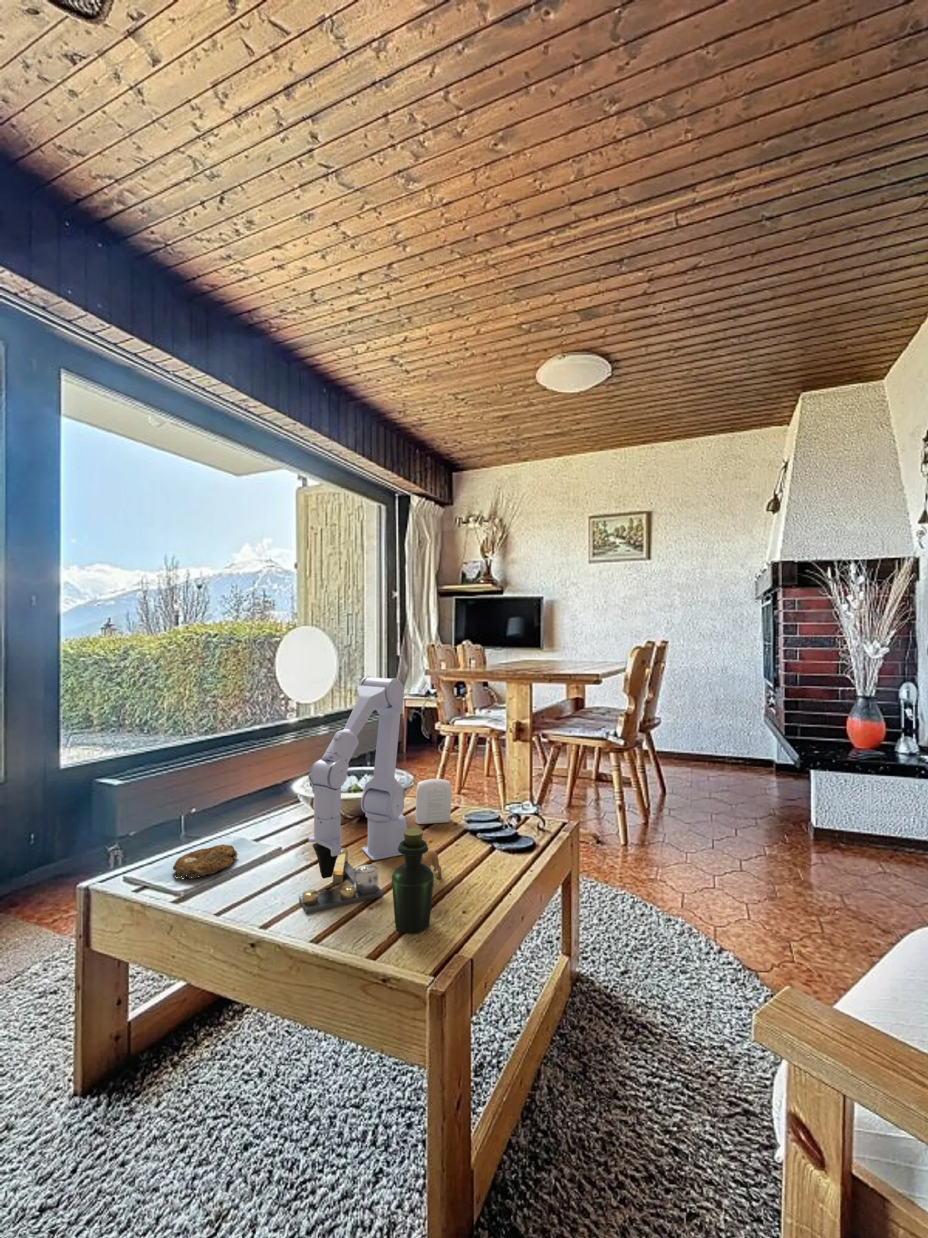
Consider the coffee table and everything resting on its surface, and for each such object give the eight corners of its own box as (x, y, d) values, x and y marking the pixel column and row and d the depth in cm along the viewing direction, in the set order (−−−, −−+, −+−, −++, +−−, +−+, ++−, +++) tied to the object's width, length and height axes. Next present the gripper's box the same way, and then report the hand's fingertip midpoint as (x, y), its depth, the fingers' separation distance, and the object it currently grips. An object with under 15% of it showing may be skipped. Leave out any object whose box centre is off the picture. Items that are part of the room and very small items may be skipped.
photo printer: (448, 818, 171) (449, 776, 171) (452, 823, 166) (452, 780, 166) (414, 820, 168) (414, 778, 168) (416, 826, 164) (417, 782, 164)
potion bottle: (389, 937, 107) (390, 840, 106) (392, 914, 115) (393, 824, 115) (433, 936, 107) (434, 839, 107) (433, 914, 115) (434, 824, 115)
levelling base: (355, 864, 138) (355, 840, 138) (382, 896, 122) (382, 869, 122) (287, 878, 130) (287, 853, 130) (306, 914, 114) (306, 885, 114)
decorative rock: (213, 854, 145) (162, 881, 131) (212, 837, 145) (161, 863, 131) (249, 858, 140) (201, 887, 127) (248, 842, 140) (200, 869, 126)
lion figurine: (424, 904, 119) (424, 860, 119) (400, 900, 121) (400, 857, 121) (445, 873, 133) (445, 835, 133) (423, 870, 135) (423, 832, 135)
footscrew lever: (335, 861, 139) (335, 848, 139) (348, 860, 140) (348, 847, 140) (330, 889, 125) (330, 874, 125) (344, 888, 125) (344, 874, 125)
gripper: (301, 808, 131) (300, 867, 132) (317, 828, 119) (317, 894, 119) (331, 803, 135) (331, 861, 135) (351, 823, 122) (350, 887, 122)
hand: (326, 876), depth 127 cm, fingers closed
